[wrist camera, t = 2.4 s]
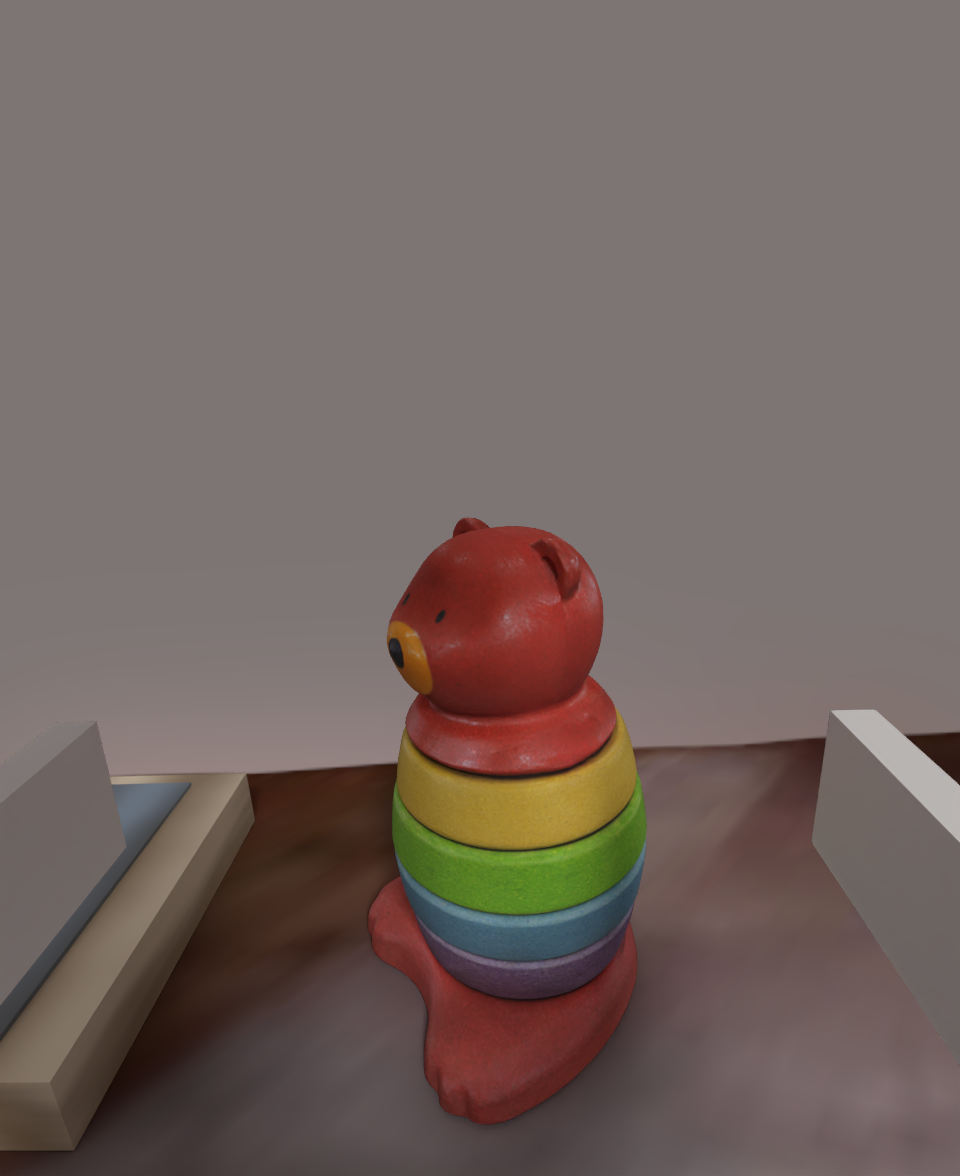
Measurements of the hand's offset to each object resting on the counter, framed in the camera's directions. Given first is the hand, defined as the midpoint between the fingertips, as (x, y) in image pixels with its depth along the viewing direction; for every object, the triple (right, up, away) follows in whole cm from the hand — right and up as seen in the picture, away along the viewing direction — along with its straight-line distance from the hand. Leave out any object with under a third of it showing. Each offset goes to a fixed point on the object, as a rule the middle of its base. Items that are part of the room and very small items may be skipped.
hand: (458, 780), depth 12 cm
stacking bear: (+2, -12, +15) cm, 19 cm away
